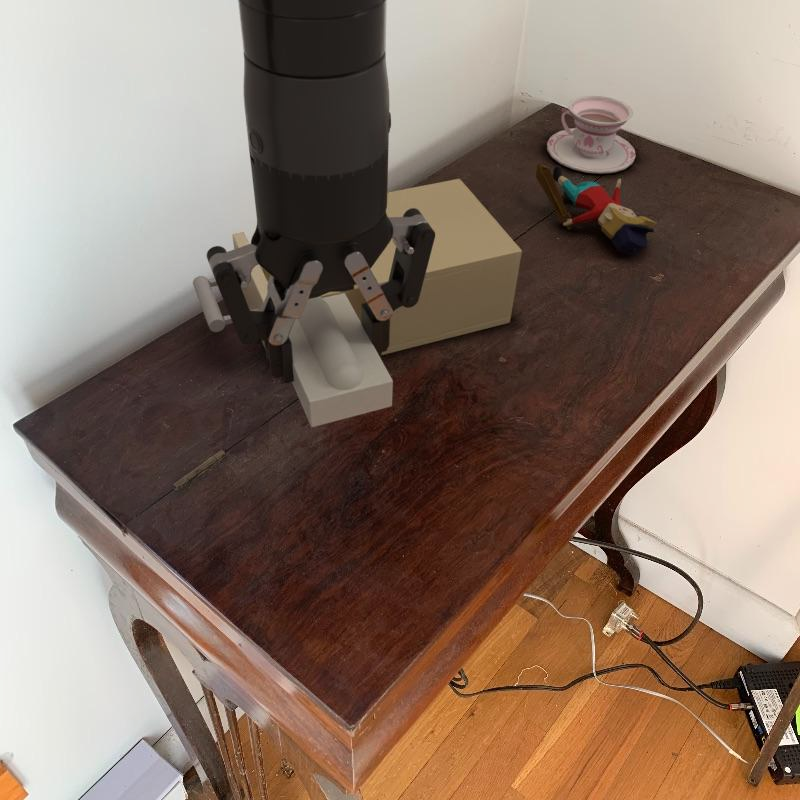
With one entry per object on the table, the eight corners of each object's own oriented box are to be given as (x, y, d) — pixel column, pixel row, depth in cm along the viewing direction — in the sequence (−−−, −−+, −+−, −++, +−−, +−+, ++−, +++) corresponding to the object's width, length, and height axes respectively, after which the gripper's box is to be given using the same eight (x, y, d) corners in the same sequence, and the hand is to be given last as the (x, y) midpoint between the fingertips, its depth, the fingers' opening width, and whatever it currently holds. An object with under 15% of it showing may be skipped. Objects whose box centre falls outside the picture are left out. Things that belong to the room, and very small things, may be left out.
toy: (591, 146, 98) (676, 210, 90) (577, 192, 103) (656, 257, 94) (531, 158, 94) (614, 226, 86) (519, 206, 99) (597, 275, 90)
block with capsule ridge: (392, 406, 53) (393, 367, 50) (311, 428, 52) (308, 388, 49) (345, 318, 59) (344, 279, 57) (271, 335, 58) (267, 295, 55)
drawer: (223, 384, 75) (212, 324, 70) (193, 302, 83) (181, 243, 78) (414, 336, 81) (417, 277, 75) (368, 264, 89) (368, 206, 84)
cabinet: (370, 358, 79) (371, 284, 73) (325, 276, 88) (321, 204, 82) (510, 322, 84) (522, 250, 77) (453, 248, 93) (459, 178, 86)
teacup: (637, 139, 113) (648, 96, 108) (631, 182, 105) (643, 137, 100) (552, 126, 115) (559, 83, 110) (540, 167, 106) (548, 123, 102)
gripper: (416, 86, 47) (405, 309, 59) (170, 122, 43) (212, 353, 55) (469, 146, 43) (446, 375, 55) (199, 192, 39) (238, 428, 51)
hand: (328, 363), depth 55 cm, fingers closed on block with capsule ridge, 5 cm apart
